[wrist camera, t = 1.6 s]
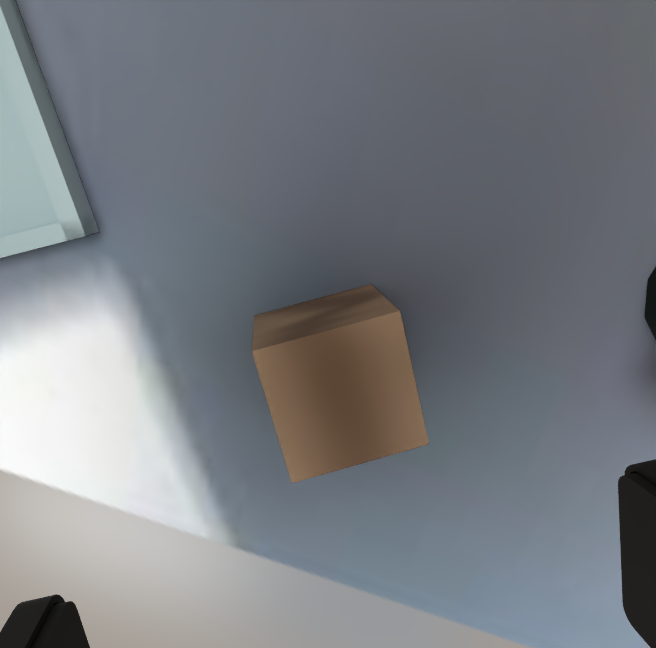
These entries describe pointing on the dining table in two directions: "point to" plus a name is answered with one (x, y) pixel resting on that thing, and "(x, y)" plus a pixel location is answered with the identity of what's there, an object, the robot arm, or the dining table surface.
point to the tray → (33, 153)
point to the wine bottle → (651, 303)
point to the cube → (338, 381)
